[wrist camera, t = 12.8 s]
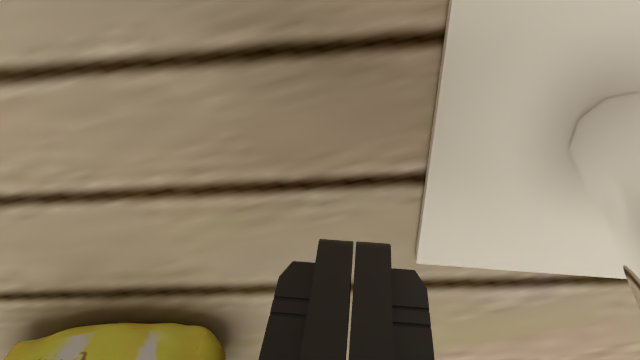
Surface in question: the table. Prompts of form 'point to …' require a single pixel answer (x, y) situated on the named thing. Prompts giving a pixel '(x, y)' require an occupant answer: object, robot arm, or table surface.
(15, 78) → the table surface
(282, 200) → the table surface
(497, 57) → the mat
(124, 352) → the bottle
